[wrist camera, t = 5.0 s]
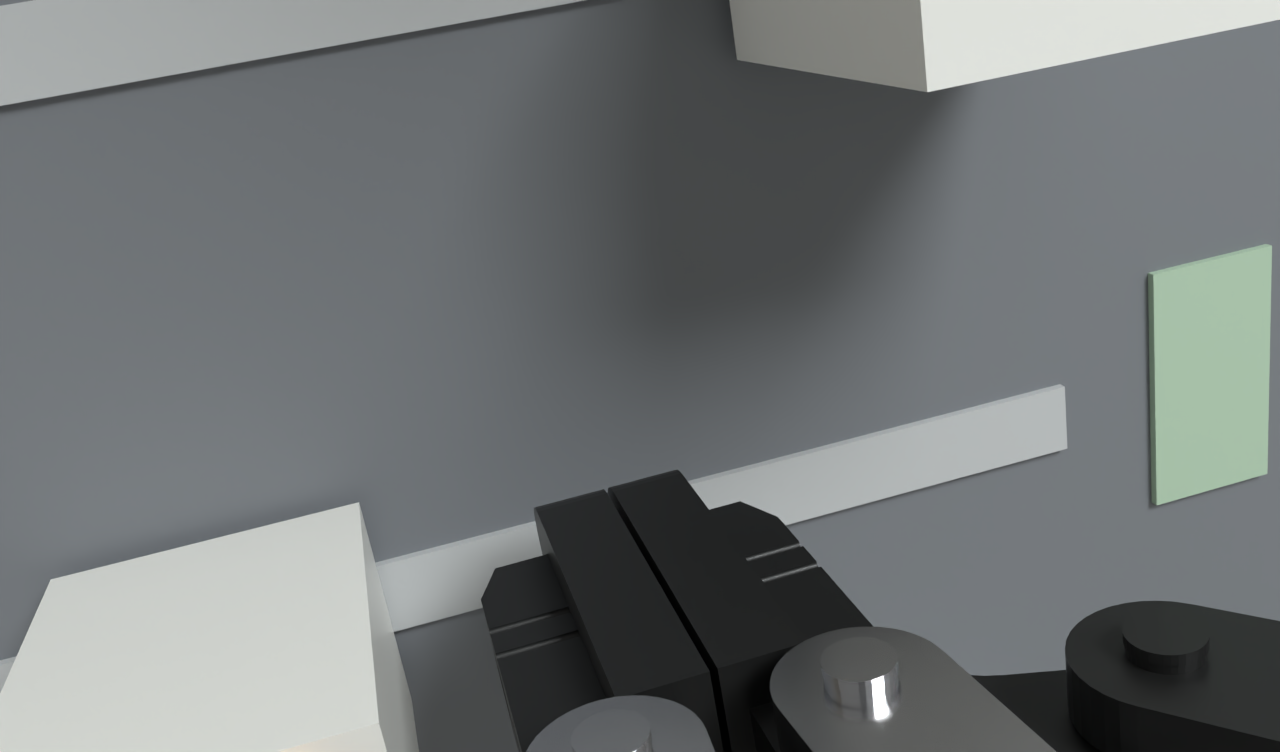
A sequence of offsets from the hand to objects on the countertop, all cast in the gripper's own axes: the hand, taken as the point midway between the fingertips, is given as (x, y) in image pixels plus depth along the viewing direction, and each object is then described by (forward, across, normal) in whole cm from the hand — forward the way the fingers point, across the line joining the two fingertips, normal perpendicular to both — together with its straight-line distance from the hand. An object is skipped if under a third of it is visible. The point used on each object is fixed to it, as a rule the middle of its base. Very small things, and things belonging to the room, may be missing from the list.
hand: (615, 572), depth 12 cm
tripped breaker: (+1, +4, 0) cm, 4 cm away
